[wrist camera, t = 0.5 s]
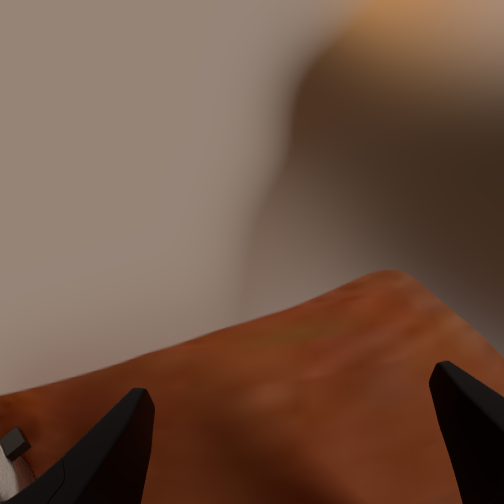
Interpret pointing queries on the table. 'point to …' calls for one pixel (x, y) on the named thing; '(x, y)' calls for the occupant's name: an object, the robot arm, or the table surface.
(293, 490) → the table surface
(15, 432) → the cooker pot
